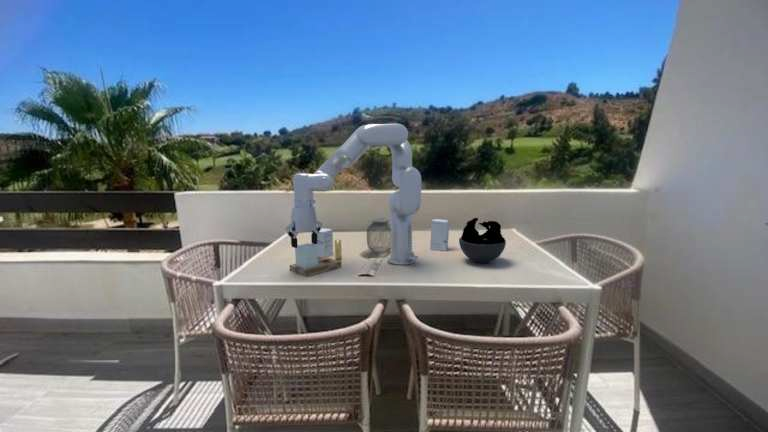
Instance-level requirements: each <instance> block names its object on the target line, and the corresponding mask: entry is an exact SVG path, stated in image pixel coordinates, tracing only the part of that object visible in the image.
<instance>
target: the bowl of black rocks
mask: <svg viewBox="0 0 768 432" xmlns="http://www.w3.org/2000/svg"><path fill="white" fill-rule="evenodd" d="M478 221H479V218H478V217H474V218H472V219H470V220H468V221H467V222H466V225H465V226H464V228H463V229H462V230H463V231H462V235H461V237H460V238H459V239H458V244H459V247H460V249H461V251H462V253H463V254H464V255H465V256H466V257H467V258H468V259H469V260H471V261H474V262H476V263H481V264H483V263H490V262H493V261H494V260H497V258H499V257H500V256H501V255H502V253H503V251H505V250H504V249H505V248H506V245H507V241H506V238H505V237H504V236H503V235H502V230H501V229H502V225H501V224H500V223H499V222H498V221H495V220H488V221H483V222H479V223H478V224H479V225H480V226H482V227H484V228H485V229H486V230H485V232H484V233H482V234H480V233H479V231H478V230H477V229H476V223H477V222H478Z"/></svg>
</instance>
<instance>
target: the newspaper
mask: <svg viewBox="0 0 768 432" xmlns="http://www.w3.org/2000/svg"><path fill="white" fill-rule="evenodd" d="M382 261H383V259H382V258H380V257H372V258H371V257H370V258H369V259H368V260H367V261H366V263H365V264H364V266H363V267H362V269H361V271H360V272H359V274H358V277H361V276H362V275H370V276H371V277H374V276H375V274H376V272H377V271H378V269H379V267H380V265H381V263H382Z"/></svg>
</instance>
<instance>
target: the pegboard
mask: <svg viewBox="0 0 768 432" xmlns="http://www.w3.org/2000/svg"><path fill="white" fill-rule="evenodd" d="M342 263H343V262H342V260H339V261H338V260H335V258H330V257H318V266H315V267H311V268H307V269H303V268H301V267H298V266H296V263H294V264H289V272H292V273H294V274H297V275H300V276H303V277H306V278H309V277H311V276H315V275H318V274H322V273H326V272H328V271H329V272H330V271H332V270H336V269H340V268H342V267H343V266H342Z"/></svg>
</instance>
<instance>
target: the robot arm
mask: <svg viewBox="0 0 768 432" xmlns="http://www.w3.org/2000/svg"><path fill="white" fill-rule="evenodd" d="M408 137H409V131H408V128H407V127H406V126H405V125H403V124H402V123H368V124H362V125H361V126H359V127H358V128H357V129H356V130H355V131H354V132H353V133H352V134H350V136H349V137H348V138H347V139H346V140H345V142H344V143H343V144H342V145H341V146H339V148H337V150H336V151H335V152H334V153H333V154H332V155H330V157H328V158H327V159H326V160H325V161H324V162H323V163H322V164H321V165H320V167H318V169H317V170H315V172H314V173H313V174H312V173H310V172H296V173H295V174H294V175H293V198H294V201H293V202H294V206H293V207H292V209H291V214H290V223H289V224H287V226H285V227H284V230H285V232H286V234H287V236H289V238H290V245H291V247H292V248H294V249H295V248H297V245H298V237H297V236H298V234H301V233H302V234H303V233H307V232H311V237H310V238H311V239H310V240H311V242H310V243H311V244H312V243H313V244H317V234H319V231H320V230H321V228H322V226H323V222H320V221H319V220H317V213H316V208H315V206H314V204H316V200H314V192H324V193H325V192H328V191H330V190H331V189H333V187H334V183H335V182H334V178H335V177H336V176H338V175H339V173H341V172H342V171H344V170H346V169H347V168H349V167H351V166H353V165H354V164H355V163H356V162H357V161H358V160H359V159H360V158H361V156H362V155H363V154H364V153H365V152H366V151H367V150H368V149H369V148H370V147H372V146H374V147H375V146H376V147H377V146H379V147H383V146H384V147H385V146H387V147H388V148H389V149H390V152H391V155H392V156H391V157H392V162H391V163H392V165H391V166H392V167H391V170H392V172H391V180H392V183H393V185H394V186H396V187H398V188H399V190H396V191H395V192H394V191H393V193H392V194H391V195H390V197H389V200H388V207H389V215H390V256H388V257H387V258H386V260H387V263H390V264H393V265H398V266H399V265H403V266H404V265H411V264H414V263H416V262H417V261H418V259H419V256H418V255H415V252H414V251H413V217H412V216H414V215H415V214H417V213H418V212H419V210H420V208H421V202H422V175H421V172H420V171H419V170H418V169H417V168H416V167H414V166H413V152H412V151H413V150H412V147H411V145H410V142H409V141H408ZM312 233H313V234H312Z"/></svg>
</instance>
